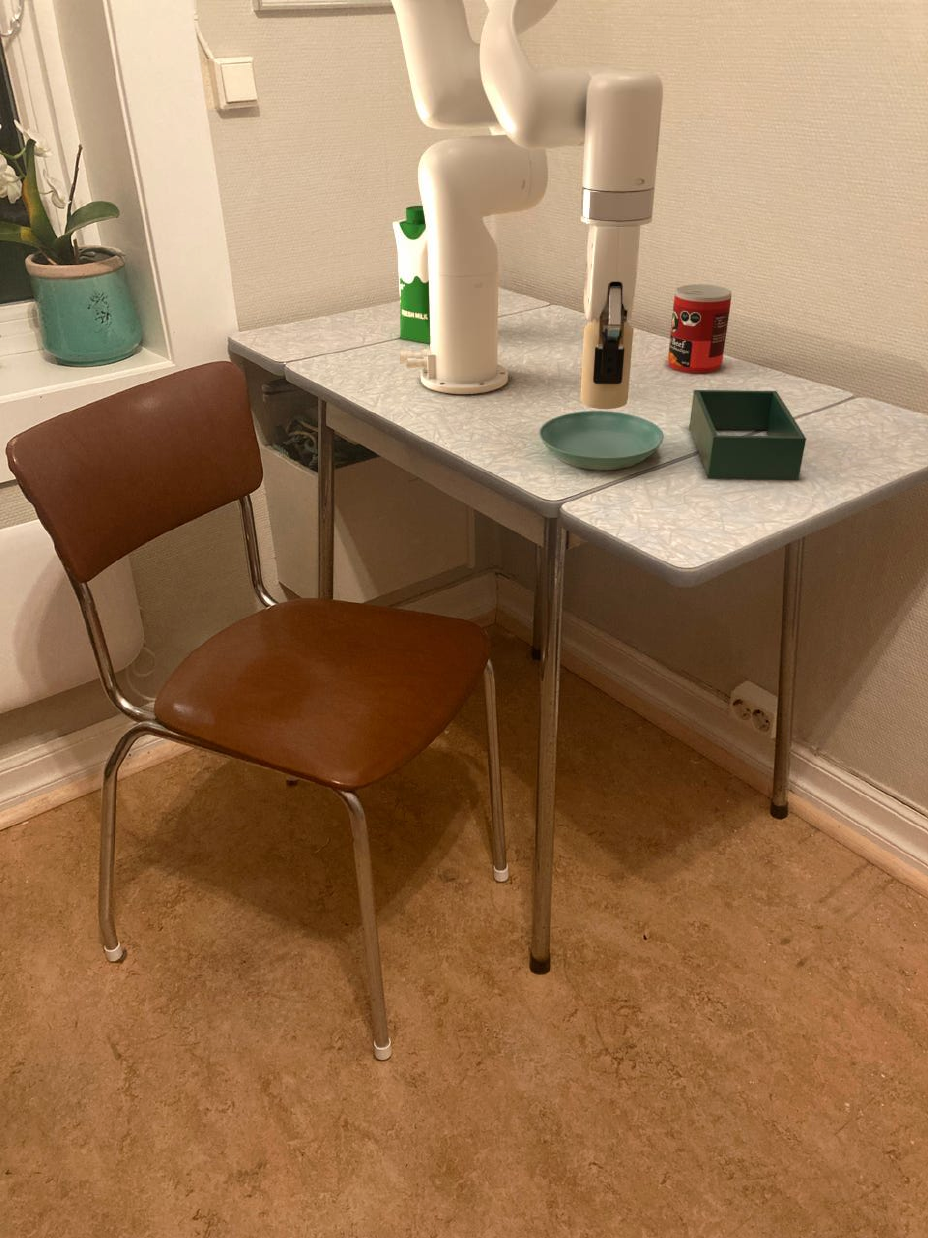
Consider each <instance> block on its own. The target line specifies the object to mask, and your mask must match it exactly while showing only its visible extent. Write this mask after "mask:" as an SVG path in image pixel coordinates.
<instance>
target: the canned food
mask: <svg viewBox="0 0 928 1238" xmlns="http://www.w3.org/2000/svg"><path fill="white" fill-rule="evenodd" d="M673 298H674V299H673V307H672V315H671V323H670V324H671V325H670V335H669V344H668V354H667V361H668V366H669V367H670V368H672V369H673V370H676V371H678V372H682V373H687V374H709V373H713V372H717V371H719V370H720V369H721V366H722V364H723V359H724V353H725V347H726V346H725V345H726V339H727V332H728V326H729V325H728V324H729V318H730V311H731V304H732V303H731V302H732V291H731V290H730V289H729V288H727V287H724V286H719V285H714V284H713V285H712V284H702V283H701V284H700V283H699V284H698V283H697V284H686V285H681V286H679V287H677V288H676V289H675V291H674V296H673Z"/></svg>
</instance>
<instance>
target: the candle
mask: <svg viewBox="0 0 928 1238" xmlns="http://www.w3.org/2000/svg"><path fill="white" fill-rule="evenodd" d="M603 319H608V314H603ZM598 321H599V319H593V321H592V322H589V321H588V323H587V324H586V325H585V326H584V327H583V341H582V360H581V361H582V362H581V379H580V403H581V404H582V405H584V406H585V407H588V408H591V409H597V410H615V409H619V408H620V409H621V408H622V407H624V406H626V405H627V403H628V399H629V390H630V378H631V364H632V354H633V353H632V352H633V340H634V327H633V326H632V325H631V324H630V323H629V321H627V322H625V323H624V343H623V347H624V362H623V375H622V382H621V383H620V384H595V383H594V382H593V373H594V356H595V347H598ZM605 329H608V326H604V330H605Z"/></svg>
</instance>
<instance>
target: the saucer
mask: <svg viewBox="0 0 928 1238" xmlns="http://www.w3.org/2000/svg"><path fill="white" fill-rule="evenodd" d="M538 435H539V438H540V440H541V441H542V444H544V446H545V447H546V448H547V450H549V451H550V452H551V453H552V455H554V457H556V458H558V459H559V460H560V461H562V462H563V463H564V464H567V465H570V466H572V467H576V468H580V469H583V470H591V471H614V470H615V471H616V470H622V469H623V470H624V469H627V468H630V467H634V466H636V465H638V464H639V463H641V462H643V461H644V460H645V459H647V458H648V457H650V456H651V454H653V453H654V452H655V451H656V450H657V449H658V448H659V447H660V445H661V444H662V443H663V441H664V432H663V431H662V429H661V428H660V427H659V426H658V425H656V424H655V423H654V422H652V421H649V420H647V419H645V418H643V417H640V416H637V415H634V414H630V413H625V412H619V411H610V410H609V411H608V410H607V411H606V410H584V411H575V412H569V413H564V414H562V415H558V416H556V417H552V418H551V419H549V420H548V421H546V422H544V423H543V424H542V425H541V427H540V429H539V431H538Z"/></svg>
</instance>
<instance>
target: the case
mask: <svg viewBox="0 0 928 1238" xmlns="http://www.w3.org/2000/svg"><path fill="white" fill-rule="evenodd" d="M690 411H691V412H690V419H689V427H688V428H689V430H690V433H691V436H692V439H693V441H694V444H695V447H696V450H697V452H698V455H699V458H700V461H701V464H702V466H703V469H704V471H705V474H706V477H707V479H731V480H732V479H733V480H735V479H737V480H789V481H790V480H793V481H794V480H795V481H798V480H799V479H800V475H801V473H800V472H801V468H802V463H803V458H804V452H805V447H806V444H807V443H806V442H807V437H806V435H805V434H804V433H803V431H802V430H801V429H802V428H800V426H799V425H798V423H797V422H796V420H795V418H794V416H793V415H792V413H791V411H790V410H789V408H788V407H787V405H786V404H785V403H784V401H783V399H782V397H781V396H780V394H779V392H778V390H742V389H741V390H736V389H734V390H732V389H731V390H730V389H728V390H727V389H694V390H693V395H692V403H691V410H690ZM717 430H719V431H720V430H721V431H725V430H727V431H730V430H731V431H766V432H767V434H768V435H728V434H727V435H725V434H723V435H722V434H719V435H718V432H717Z"/></svg>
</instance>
